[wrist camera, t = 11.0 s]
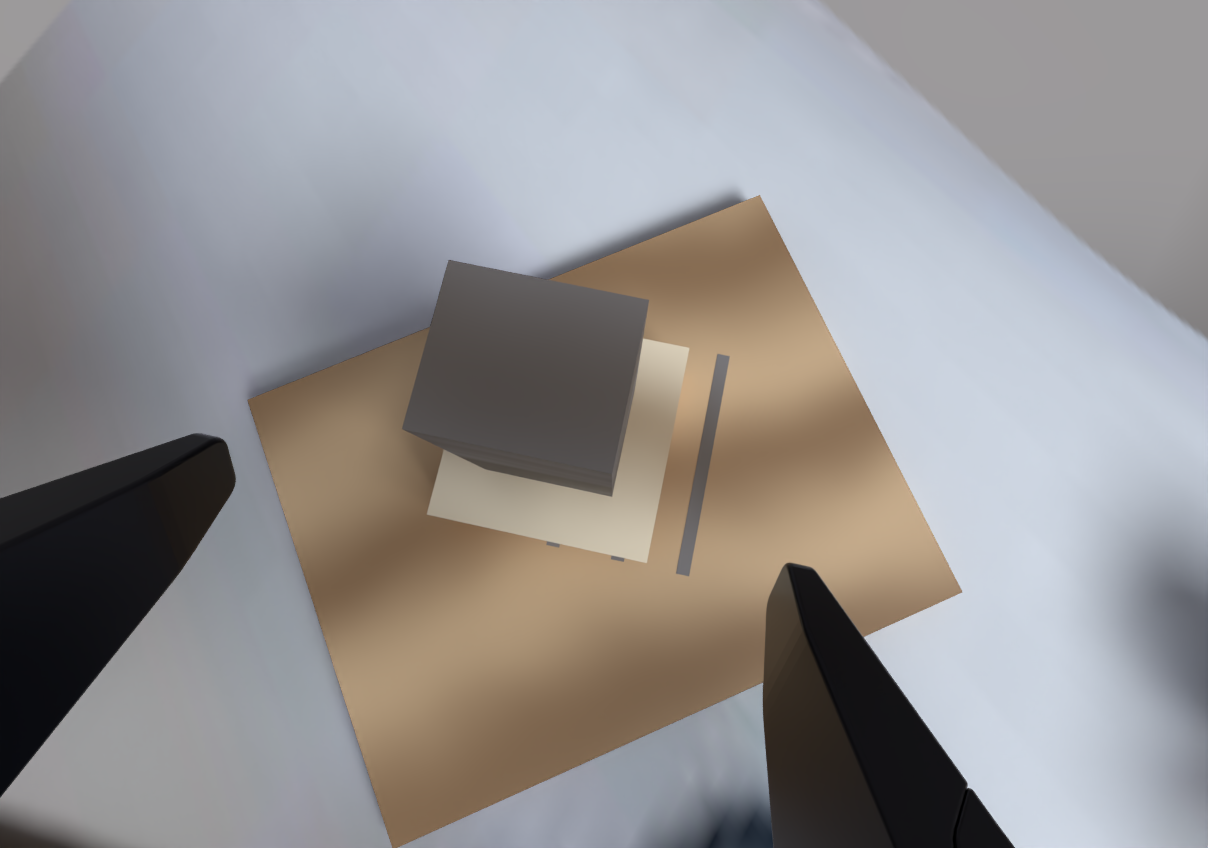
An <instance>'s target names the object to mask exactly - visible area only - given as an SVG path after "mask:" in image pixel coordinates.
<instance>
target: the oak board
mask: <svg viewBox="0 0 1208 848" xmlns="http://www.w3.org/2000/svg"><path fill="white" fill-rule="evenodd" d="M549 280H552V281H557V282H562V283H567V284H572V285H577V286H582V287H587V288H592V289H597V290H602V291H607V292H612V293H617V294H622V295H627V296H632V297H637V298H642V299H647V300H649V305H648V311H647V317H646V323H645V329H644V336H643V339H648V340H653V341H658V342H663V343H668V344H673V345H678V346H683V347H688V348H689V353H688V358H687V363H686V368H685V373H684V378H683V383H682V388H681V393H680V398H679V403H678V408H677V413H676V418H675V423H674V428H673V434H672V439H671V444H670V449H669V454H668V459H667V464H666V469H665V474H664V479H663V484H662V489H661V494H660V499H659V504H658V509H657V514H656V519H655V524H654V529H653V534H652V539H651V544H650V549H649V554H648V559H647V563H644V562H639V561H635V560H630V559H626V558H621V557H617V556H612V555H608V554H603V553H599V552H594V551H590V550H585V549H581V548H576V547H572V546H567V545H562V544H558V543H553V542H549V541H544V540H540V539H535V538H531V537H526V536H522V535H517V534H513V533H508V532H504V531H499V530H495V529H490V528H486V527H481V526H477V525H472V524H468V523H463V522H458V521H454V520H449V519H445V518H440V517H436V516H431V515H427V511H428V508H429V504H430V500H431V496H432V492H433V489H434V485H435V481H436V477H437V474H438V470H439V466H440V462H441V458H442V455H443V451H444V449H442V448H440V447H438V446H436V445H434V444H432V443H430V442H428V441H426V440H423V439H421V438H419V437H417V436H415V435H413V434H411V433H409V432H407V431H405V430H403V429H402V426H403V423H404V419H405V416H406V412H407V408H408V405H409V401H410V397H411V394H412V390H413V387H414V383H415V379H416V376H417V372H418V369H419V365H420V361H421V358H422V354H423V351H424V347H425V343H426V340H427V336H428V333H429V329H430V327H428V328H426V329H423V330H421V331H418V332H416V333H413V334H411V335H408V336H406V337H403V338H401V339H398V340H396V341H393V342H391V343H388V344H386V345H383V346H381V347H378V348H376V349H373V350H371V351H368V352H366V353H363V354H361V355H358V356H356V357H353V358H351V359H348V360H346V361H343V362H341V363H338V364H336V365H333V366H331V367H328V368H326V369H323V370H321V371H318V372H316V373H313V374H311V375H308V376H306V377H303V378H301V379H298V380H296V381H293V382H291V383H288V384H286V385H283V386H281V387H278V388H276V389H273V390H271V391H268V392H266V393H263V394H261V395H258V396H256V397H253V398H251V399H248V403H249V406H250V410H251V413H252V416H253V419H254V422H255V425H256V428H257V431H258V434H259V437H260V440H261V444H262V447H263V450H264V453H265V456H266V459H267V462H268V465H269V468H270V471H271V474H272V477H273V481H274V484H275V487H276V490H277V493H278V496H279V499H280V502H281V505H282V508H283V511H284V515H285V518H286V521H287V524H288V527H289V530H290V533H291V536H292V539H293V542H294V545H295V548H296V552H297V555H298V558H299V561H300V564H301V567H302V570H303V573H304V576H305V579H306V582H307V585H308V589H309V592H310V595H311V598H312V601H313V604H314V607H315V610H316V613H317V616H318V619H319V623H320V626H321V629H322V632H323V635H324V638H325V641H326V644H327V647H328V650H329V653H330V656H331V660H332V663H333V666H334V669H335V672H336V675H337V678H338V681H339V684H340V687H341V690H342V694H343V697H344V700H345V703H346V706H347V709H348V712H349V715H350V718H351V721H352V724H353V727H354V731H355V734H356V737H357V740H358V743H359V746H360V749H361V752H362V755H363V758H364V761H365V764H366V768H367V771H368V774H369V777H370V780H371V783H372V786H373V789H374V792H375V795H376V798H377V802H378V805H379V808H380V811H381V814H382V817H383V820H384V823H385V826H386V829H387V832H388V835H389V839H390V842H391V845H392V848H397V847H400V846H402V845H404V844H406V843H408V842H411V841H413V840H415V839H417V838H420V837H422V836H424V835H426V834H428V833H431V832H433V831H435V830H437V829H439V828H442V827H444V826H446V825H448V824H451V823H453V822H455V821H457V820H459V819H462V818H464V817H466V816H468V815H470V814H473V813H475V812H477V811H479V810H481V809H484V808H486V807H488V806H490V805H493V804H495V803H497V802H499V801H501V800H504V799H506V798H508V797H510V796H512V795H515V794H517V793H519V792H521V791H524V790H526V789H528V788H530V787H532V786H535V785H537V784H539V783H541V782H543V781H546V780H548V779H550V778H552V777H555V776H557V775H559V774H561V773H563V772H566V771H568V770H570V769H572V768H574V767H577V766H579V765H581V764H583V763H585V762H588V761H590V760H592V759H594V758H597V757H599V756H601V755H603V754H605V753H608V752H610V751H612V750H614V749H616V748H619V747H621V746H623V745H625V744H628V743H630V742H632V741H634V740H636V739H639V738H641V737H643V736H645V735H647V734H650V733H652V732H654V731H656V730H659V729H661V728H663V727H665V726H667V725H670V724H672V723H674V722H676V721H678V720H681V719H683V718H685V717H687V716H690V715H692V714H694V713H696V712H698V711H701V710H703V709H705V708H707V707H709V706H712V705H714V704H716V703H718V702H720V701H723V700H725V699H727V698H729V697H732V696H734V695H736V694H738V693H740V692H743V691H745V690H747V689H749V688H751V687H754V686H756V685H758V684H760V683H763V679H764V653H765V627H766V608H767V602H768V598H769V595H770V593H771V591H772V589H773V587H774V584H775V582H776V580H777V578H778V576H779V574H780V571H781V569H782V567H783V566H784V565H785V564H786V563H789V562H791V563H796V564H800V565H805V566H809V567H812V568H813V569H814V570H816V572H817V573H818V574H819V576H820V577H821V579H822V580H823V581H824V583H825V584H826V586H827V587H828V588H829V590H830V591H831V593H832V594H833V595H834V597H835V598H836V600H837V601H838V602H839V604H840V605H841V607H842V608H843V609H844V611H845V612H846V614H847V615H848V616H849V618H850V619H851V621H852V622H853V623H854V625H855V626H856V628H857V629H858V630H859V632H860V633H861V635H862V636H863V637H864V636H867V635H869V634H871V633H873V632H875V631H878V630H880V629H882V628H884V627H886V626H889V625H891V624H893V623H895V622H898V621H900V620H902V619H904V618H906V617H909V616H911V615H913V614H915V613H917V612H920V611H922V610H924V609H926V608H928V607H931V606H933V605H935V604H937V603H940V602H942V601H944V600H946V599H948V598H951V597H953V596H955V595H957V594H959V593H962V590H961V588H960V586H959V584H958V582H957V581H956V579H955V577H954V575H953V573H952V571H951V569H950V567H949V565H948V563H947V561H946V559H945V557H944V555H943V553H942V551H941V549H940V547H939V545H938V543H937V541H936V539H935V537H934V535H933V534H932V532H931V530H930V528H929V526H928V524H927V522H926V520H925V518H924V516H923V514H922V512H921V510H920V508H919V506H918V504H917V502H916V500H915V498H914V496H913V494H912V492H911V490H910V488H909V487H908V485H907V483H906V481H905V479H904V477H903V475H902V473H901V471H900V469H899V467H898V465H897V463H896V461H895V459H894V457H893V455H892V453H891V451H890V449H889V447H888V445H887V443H886V441H885V440H884V438H883V436H882V434H881V432H880V430H879V428H878V426H877V424H876V422H875V420H874V418H873V416H872V414H871V412H870V410H869V408H868V406H867V404H866V402H865V400H864V398H863V396H862V394H861V393H860V391H859V389H858V387H857V385H856V383H855V381H854V379H853V377H852V375H851V373H850V371H849V369H848V367H847V365H846V363H845V361H844V359H843V357H842V355H841V353H840V351H839V349H838V347H837V346H836V344H835V342H834V340H833V338H832V336H831V334H830V332H829V330H828V328H827V326H826V324H825V322H824V320H823V318H822V316H821V314H820V312H819V310H818V308H817V306H816V304H815V302H814V300H813V298H812V297H811V295H810V293H809V291H808V289H807V287H806V285H805V283H804V281H803V279H802V277H801V275H800V273H799V271H798V269H797V267H796V265H795V263H794V261H793V259H792V257H791V255H790V253H789V251H788V250H787V248H786V246H785V244H784V242H783V240H782V238H781V236H780V234H779V232H778V230H777V228H776V226H775V224H774V222H773V220H772V218H771V216H770V214H769V212H768V210H767V208H766V206H765V204H764V203H763V201H762V199H761V197H760V195H759V196H756V197H754V198H751V199H749V200H746V201H744V202H741V203H739V204H736V205H734V206H731V207H729V208H726V209H724V210H721V211H719V212H716V213H714V214H711V215H709V216H706V217H704V218H701V219H699V220H696V221H694V222H691V223H689V224H686V225H684V226H681V227H679V228H676V229H674V230H671V231H669V232H666V233H664V234H661V235H659V236H656V237H654V238H651V239H649V240H646V241H644V242H641V243H639V244H636V245H634V246H631V247H629V248H626V249H624V250H621V251H619V252H616V253H614V254H611V255H609V256H606V257H604V258H601V259H599V260H596V261H594V262H591V263H589V264H586V265H584V266H581V267H579V268H576V269H574V270H571V271H569V272H566V273H564V274H561V275H559V276H556V277H554V278H551V279H549Z"/></svg>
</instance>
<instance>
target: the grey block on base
mask: <svg viewBox="0 0 1208 848" xmlns="http://www.w3.org/2000/svg"><path fill="white" fill-rule="evenodd" d="M648 305H649V300H647V299H642V298H637V297H632V296H627V295H622V294H617V293H612V292H607V291H602V290H597V289H592V288H587V287H582V286H577V285H572V284H567V283H562V282H557V281H552V280H547V279H542V278H537V277H532V276H527V275H522V274H517V273H512V272H507V271H502V270H497V269H492V268H487V267H481V266H476V265H471V264H466V263H461V262H456V261H451V260H448V264H447V268H446V271H445V275H444V278H443V282H442V286H441V289H440V293H439V296H438V300H437V304H436V307H435V311H434V314H433V318H432V322H431V325H430V329H429V333H428V336H427V340H426V343H425V347H424V351H423V354H422V358H421V361H420V365H419V369H418V372H417V376H416V379H415V383H414V387H413V390H412V394H411V397H410V401H409V405H408V408H407V412H406V416H405V419H404V423H403V426H402V429H403V430H405V431H407V432H409V433H411V434H413V435H415V436H417V437H419V438H421V439H423V440H426V441H428V442H430V443H432V444H434V445H436V446H438V447H440V448H442V449H444V451H443V455H442V458H441V462H440V466H439V470H438V474H437V477H436V481H435V485H434V489H433V492H432V496H431V500H430V504H429V508H428V511H427V515H431V516H436V517H440V518H445V519H449V520H454V521H458V522H463V523H468V524H472V525H477V526H481V527H486V528H490V529H495V530H499V531H504V532H508V533H513V534H517V535H522V536H526V537H531V538H535V539H540V540H544V541H549V542H553V543H558V544H562V545H567V546H572V547H576V548H581V549H585V550H590V551H594V552H599V553H603V554H608V555H612V556H617V557H621V558H626V559H630V560H635V561H639V562H644V563H647V559H648V554H649V549H650V544H651V539H652V534H653V529H654V524H655V519H656V514H657V509H658V504H659V499H660V494H661V489H662V484H663V479H664V474H665V469H666V464H667V459H668V454H669V449H670V444H671V439H672V434H673V428H674V423H675V418H676V413H677V408H678V403H679V398H680V393H681V388H682V383H683V378H684V373H685V368H686V363H687V358H688V353H689V348H688V347H683V346H678V345H673V344H668V343H663V342H658V341H653V340H648V339H643V336H644V329H645V323H646V317H647V311H648Z"/></svg>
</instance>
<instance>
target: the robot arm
mask: <svg viewBox="0 0 1208 848" xmlns="http://www.w3.org/2000/svg"><path fill="white" fill-rule="evenodd" d="M235 482H236V477H235V472H234V469H233V465H232V461H231V457H230V454H229V450H228V446H227V444H226V442H225V441H224V440H223V439H221V438H219V437H215V436H210V435H206V434H200V433H195V434H191V435H188V436H185V437H182V438H179V439H176V440H173V441H170V442H167V443H164V444H161V445H158V446H155V447H152V448H149V449H146V450H143V451H140V452H137V453H134V454H131V455H128V456H125V457H122V458H119V459H116V460H114V461H111V462H108V463H105V464H102V465H99V466H96V467H93V468H90V469H87V470H84V471H81V472H78V473H75V474H72V475H69V476H66V477H63V478H60V479H57V480H54V481H51V482H48V483H45V484H42V485H39V486H36V487H33V488H30V489H27V490H24V491H21V492H18V493H15V494H12V495H9V496H6V497H4V498H1V499H0V797H1V796H2V795H3V794H4V792H5V791H6V790H7V789H8V787H9V786H10V785H11V784H12V782H13V781H14V780H15V779H16V777H17V776H18V775H19V774H20V772H21V771H22V770H23V769H24V767H25V766H26V765H27V764H28V762H29V761H30V760H31V759H32V757H33V756H34V755H35V754H36V752H37V751H38V750H39V749H40V747H41V746H42V745H43V744H44V742H45V741H46V740H47V739H48V737H49V736H50V735H51V734H52V732H53V731H54V730H55V729H56V727H57V726H58V725H59V724H60V722H61V721H62V720H63V719H64V717H65V716H66V715H67V714H68V712H69V711H70V710H71V709H72V707H73V706H74V705H75V704H76V702H77V701H78V700H79V698H80V697H81V696H82V695H83V693H84V692H85V691H86V690H87V688H88V687H89V686H90V685H91V683H92V682H93V681H94V680H95V678H96V677H97V676H98V675H99V673H100V672H101V671H102V670H103V668H104V667H105V666H106V665H107V663H108V662H109V661H110V660H111V658H112V657H113V656H114V655H115V653H116V652H117V651H118V650H119V648H120V647H121V646H122V645H123V643H124V642H125V641H126V640H127V638H128V637H129V636H130V635H131V633H132V632H133V631H134V630H135V628H136V627H137V626H138V625H139V623H140V622H141V621H142V620H143V618H144V617H145V616H146V615H147V613H148V612H149V611H150V610H151V608H152V607H153V606H154V605H155V603H156V602H157V601H158V600H159V598H160V597H161V596H162V595H163V593H164V592H165V591H166V590H167V588H168V587H169V586H170V585H171V583H172V582H173V581H174V579H175V578H176V577H177V575H178V574H179V573H180V572H181V570H182V569H183V567H184V566H185V564H186V563H187V561H188V560H189V558H190V557H191V555H192V554H193V552H194V551H195V549H196V548H197V546H198V545H199V543H200V541H201V540H202V538H203V537H204V535H205V534H206V532H207V531H208V529H209V528H210V526H211V524H212V523H213V521H214V520H215V518H216V517H217V515H218V514H219V512H220V510H221V509H222V507H223V506H224V504H225V503H226V501H227V500H228V498H229V497H230V495H231V493H232V491H233V489H234V487H235ZM763 719H764V733H765V746H766V759H767V771H768V784H769V797H770V810H771V823H772V836H773V848H1015V847H1014V846H1013V844H1012V843H1011V842H1010V840H1009V839H1008V838H1007V836H1006V835H1005V834H1004V832H1003V831H1002V830H1001V828H1000V827H999V826H998V824H997V823H996V821H995V820H994V819H993V817H992V816H991V815H990V813H989V812H988V810H987V809H986V808H985V806H984V805H983V803H982V802H981V801H980V799H979V798H978V796H977V795H976V794H975V792H974V791H973V790H972V789H970V788H967V781H966V780H965V779H964V777H963V776H962V774H961V773H960V772H959V770H958V769H957V767H956V766H955V765H954V763H953V762H952V760H951V759H950V758H949V756H948V755H947V753H946V752H945V751H944V749H943V748H942V746H941V745H940V744H939V742H938V741H937V739H936V738H935V737H934V735H933V734H932V732H931V731H930V730H929V728H928V727H927V725H926V724H925V723H924V721H923V720H922V718H921V717H920V716H919V714H918V713H917V711H916V710H915V709H914V707H913V706H912V704H911V703H910V702H909V700H908V699H907V697H906V696H905V695H904V693H903V692H902V690H901V689H900V688H899V686H898V685H897V683H896V682H895V681H894V679H893V678H892V676H891V675H890V674H889V672H888V671H887V669H886V668H885V667H884V665H883V664H882V663H881V661H880V660H879V658H878V657H877V656H876V654H875V653H874V651H873V650H872V649H871V647H870V646H869V644H868V643H867V642H866V640H865V639H864V637H863V636H862V635H861V633H860V632H859V630H858V629H857V628H856V626H855V625H854V623H853V622H852V621H851V619H850V618H849V616H848V615H847V614H846V612H845V611H844V609H843V608H842V607H841V605H840V604H839V602H838V601H837V600H836V598H835V597H834V595H833V594H832V593H831V591H830V590H829V588H828V587H827V586H826V584H825V583H824V581H823V580H822V579H821V577H820V576H819V574H818V573H817V572H816V570H814V569H813V568H812V567H809V566H805V565H800V564H796V563H791V562H789V563H786V564H785V565H784V566H783V567H782V569H781V571H780V574H779V576H778V578H777V580H776V582H775V584H774V587H773V589H772V591H771V593H770V595H769V598H768V602H767V608H766V627H765V653H764V679H763Z"/></svg>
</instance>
